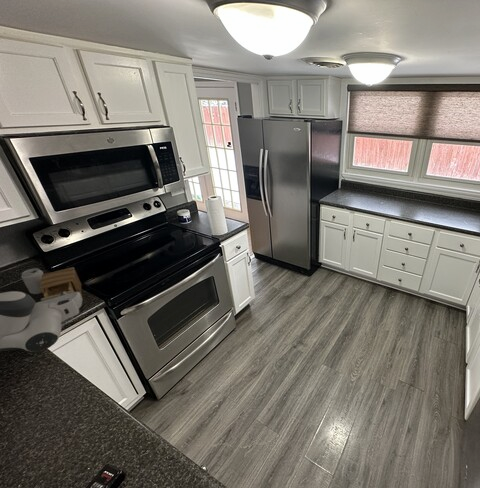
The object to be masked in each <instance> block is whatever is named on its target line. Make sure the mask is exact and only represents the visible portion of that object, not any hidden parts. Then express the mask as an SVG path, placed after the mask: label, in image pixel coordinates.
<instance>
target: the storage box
mask: <svg viewBox="0 0 480 488" xmlns="http://www.w3.org/2000/svg"><path fill="white" fill-rule="evenodd" d="M68 282H72V283H73V285H74V287H75V289H76V291H77V292H80V294H81V296H82V297H83V294H82V293H83V292H82V282H81V280H80V278H79V276H78V274H77V271H76V268H75V267H74V266H72V267H68V268H65V269H59V270H55V271H52V272H46V273H43V274H42V279H41V285H40V289H41V291H42V293H41V294H42V295H43V296H44V293H45V288H48V287H52V286H56V285H60V284H64V283H68Z"/></svg>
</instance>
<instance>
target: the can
mask: <svg viewBox="0 0 480 488" xmlns="http://www.w3.org/2000/svg"><path fill="white" fill-rule="evenodd" d="M42 274H44V272H43V270H41V269H40V268H35V267H34V268H29V269H27V270H24V271H23V272H21V276H20V279H21V280H22V281H23V284H24V285H25V286H26V288H27V290H28V292H29V294H31V295H39V294H43V293H42V291H41V289H40V285H41V279H42Z"/></svg>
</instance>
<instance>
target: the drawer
mask: <svg viewBox="0 0 480 488" xmlns="http://www.w3.org/2000/svg"><path fill="white" fill-rule="evenodd" d="M61 292H66V293H67V294H70V293H73V292H77V291H76V289H75V287H74V285H73V283H72V282H68V283H64V284H60V285H56V286H52V287H48V288H45V293H44V295H43V297H42V298H40V302H41V301H45V300H48V299H52V298H55V297H59V296H61V295H60V293H61Z"/></svg>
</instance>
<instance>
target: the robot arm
mask: <svg viewBox="0 0 480 488" xmlns="http://www.w3.org/2000/svg"><path fill="white" fill-rule="evenodd" d="M60 295H61V296H59V297H55V298H52V299H48V300H45V301H41V300H40V301H38V302H36V300H35V299H34V298H33V297H32V296H31V295H29V294H28V293H26V292H25V291H24V292H23V291H20V290H10V291H9V290H8V291H0V352H6V351H12V350H18V349H22V350H24V351H26V352H31V353H37V352H42V351H45V350H47V349H49V348H51V347H53V346H54V345H55V344H56V343H57V341H59V339H60V336H61V334H62V325H63V324H62V323H63V322H65V321H67V320H68V319H70V318H72V317H74V316H77V315H78V314H80V308H81V307H82V305H83V295H82V296H81V294H80V292H73V293H70V294H67V293H66V292H61V293H60Z"/></svg>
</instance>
